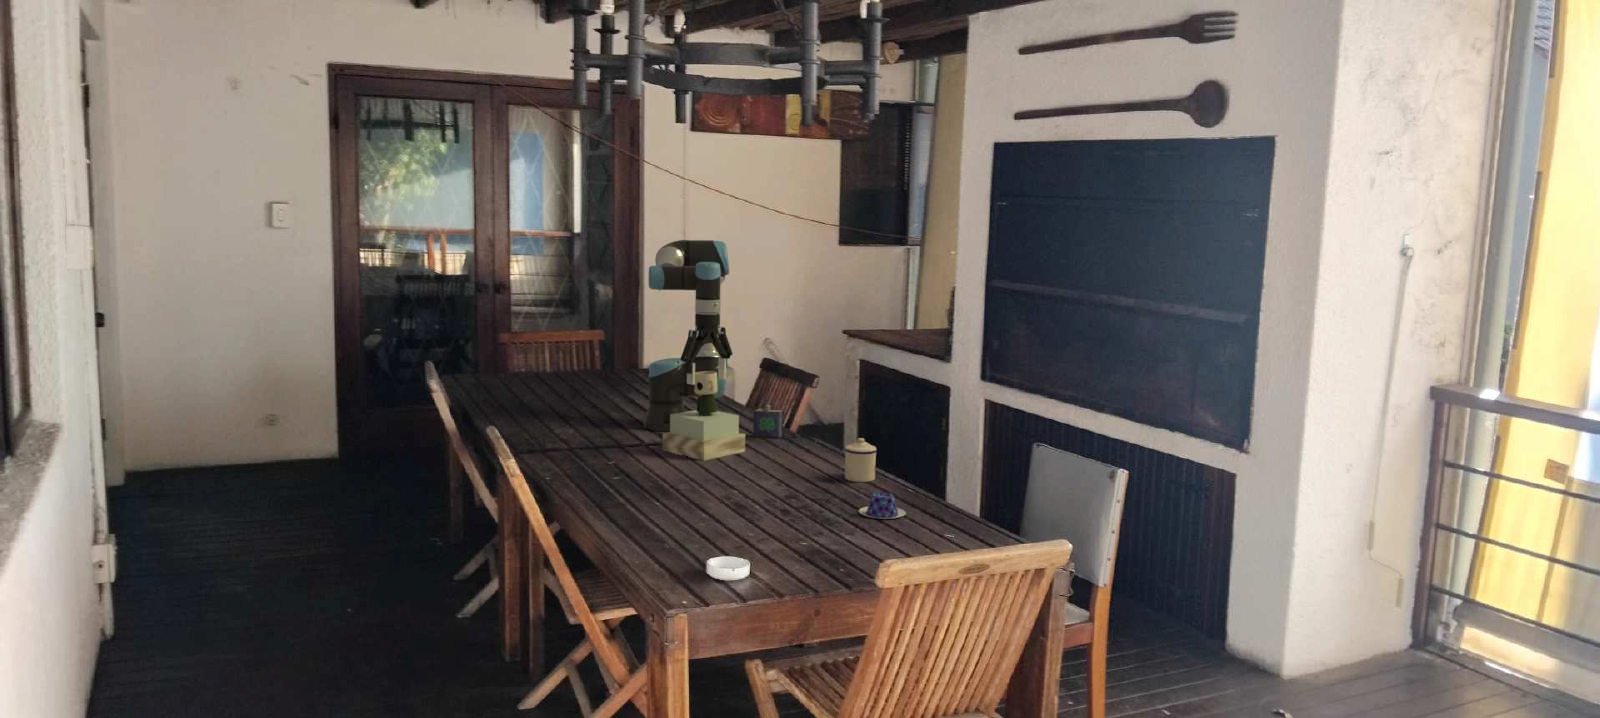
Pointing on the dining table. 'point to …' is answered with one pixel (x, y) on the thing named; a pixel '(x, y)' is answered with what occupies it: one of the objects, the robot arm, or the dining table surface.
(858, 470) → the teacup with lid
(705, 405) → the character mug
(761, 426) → the flask
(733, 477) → the dining table surface
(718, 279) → the robot arm
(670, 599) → the dining table surface
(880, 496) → the pudding
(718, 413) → the tower top
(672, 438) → the tower base
